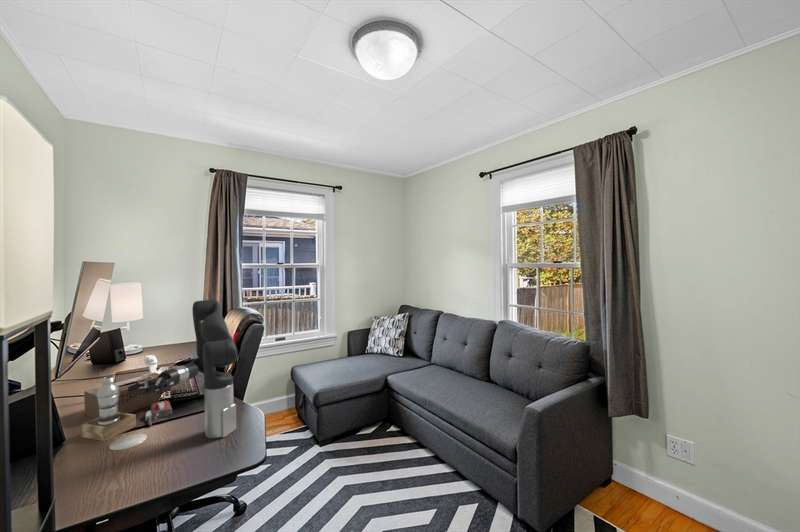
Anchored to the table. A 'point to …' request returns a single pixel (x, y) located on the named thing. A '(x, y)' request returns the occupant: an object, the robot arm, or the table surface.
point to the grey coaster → (128, 442)
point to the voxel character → (151, 364)
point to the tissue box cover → (124, 397)
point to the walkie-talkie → (158, 411)
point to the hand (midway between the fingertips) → (136, 390)
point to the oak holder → (108, 427)
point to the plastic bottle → (108, 402)
